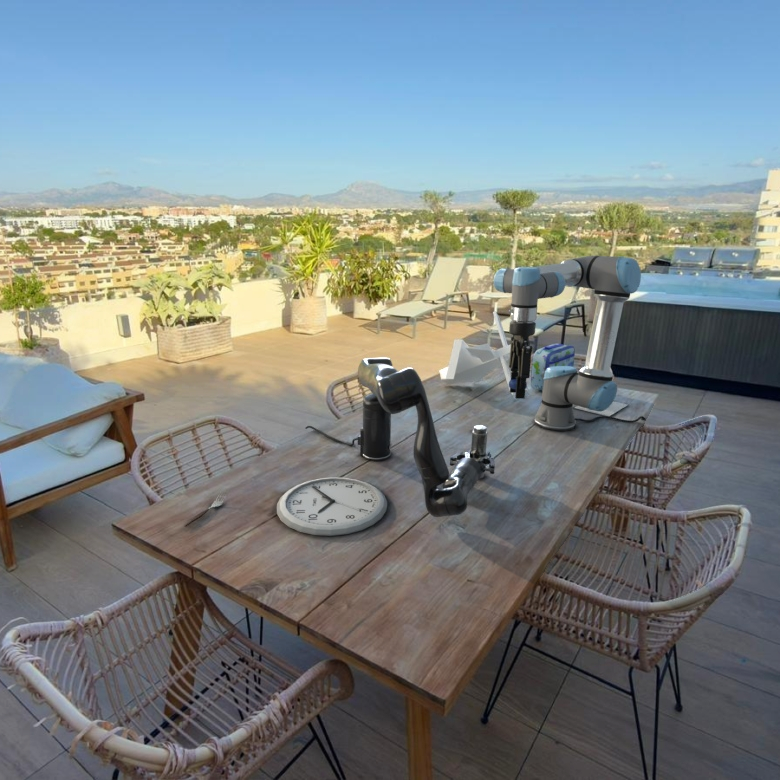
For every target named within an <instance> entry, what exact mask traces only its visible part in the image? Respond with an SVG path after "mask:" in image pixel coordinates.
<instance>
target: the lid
mask: <svg viewBox="0 0 780 780" xmlns="http://www.w3.org/2000/svg"><path fill="white" fill-rule="evenodd" d="M516 382H517V379H512V380H510V381H509V387H510V388H512V389H516ZM509 387H508V388H509ZM527 387H528V382H527V381H526V388H527Z"/></svg>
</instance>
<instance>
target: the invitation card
mask: <svg viewBox="0 0 780 780" xmlns="http://www.w3.org/2000/svg"><path fill="white" fill-rule="evenodd" d="M628 406H629V404H627V403H623V402H618V401H615V400H614V401H613V402H612V404H611V405H610V406H609V407H608V408H607V409H606V410H604V411H595V410H589V409H587V408H584V407H581V406H577V405H575V406H574V407H573V409H575V410H581V411H584V412H587V413H593V414H596V415H600V416H609V417H612V416H613V415H614V414H616V413H617V412H619V411H621V410H623V409H624V408H626V407H628Z"/></svg>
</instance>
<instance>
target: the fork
mask: <svg viewBox="0 0 780 780" xmlns="http://www.w3.org/2000/svg"><path fill="white" fill-rule="evenodd" d="M227 496H228V492H227V493H224V492H219V494H218V496H217V497H216V499H215V500H214V501H213V503H212V504H211V505H210V506H209V507H207V508H206V509H204V510H203V511H201V512H199V513H198V514H196V515H195V516H194V517H193V518H192V519H191V520H190V521H188V522H187V523H186V524H185V525H184V527H188V526H190V525H191V524H192V523H194V522H195V521H198V520H199V519H200V518H202V517H203V516H205V514H207V512H209V511H210V510H211V509H213V508H218V507H221V506H222V505H223V503H224V502H225V500H226V498H227Z"/></svg>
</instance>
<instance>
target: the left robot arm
mask: <svg viewBox="0 0 780 780" xmlns="http://www.w3.org/2000/svg"><path fill="white" fill-rule="evenodd" d="M357 377H358V380H359V383H360V385H361V386H362V387H364V388H367V389H368V390H369V391H370V392H371V393H369V394H367V395H365V396H364V397H363V398H362V427H361V428H360V429H359V432H360V433H359V435H358V436H357V437H354V438H353V439H352V441H351V443H346V442H343V441H341V440H339V439H337V438H335V437H333V436H331V435H328V434H327V433H325V432H323V431H322V430H319V429H317V428H316V427H314V426H311V425H307V426H305V427H304V429H305V430H308V429H312V430H313V431H315V432H318V433H320V434H321V435H323V436H324V437H327V438H328V439H330V440H332V441H334V442H336V443H339V444H344V445H347V446H351V447H352V446H354V445H355V441H357V446H359V455H360V456H361V457H363V458H365V459H367V460H370V461H384V460H387V459H388V458H390V457H391V456H392V455H391V454H392V453H391V449H392V444H391V439H392V438H391V433H392V432H391V431H392V415H396V414H399V413H402V412H404V411H406V410H409V409H411V408H413V407H415V409H416V413H417V425H416V426H417V427H416V433H415V437H414V443H413V459H414V462H415V466H416V467H417V470H418V473H419V475H420V477H421V480H422V485H423V493H424V504H425V509H426V511H427V512H428V514H429V515H430V516H432V517H434V518H444V517H452V516H459V515H462V514H464V512H466V510H467V509H468V495H469V493H470V492H471V490H472V489H473V488H474V487H475V486H476V484H478V481H479V480H480V479H479V478H480V476H481V474H482V473H484V474H485V473H486V472H489V473H490V474H491V475H494V474H495V468H496V463H495V458H494V457H492V453H491V451H486V455H485V456H484V457H480V458H478V459H473V458H471V449H468V450H467V451H466V452H463V451H458V452H457V453H455V454H453V455H452V456H450V457H449V466H450V467H453V468H451V470H449V467H448V465H447V462H446V460H445V457H444V454H443V451H442V449H441V446H440V443H439V440H438V437H437V432H436V427H435V423H434V419H433V415H432V411H431V408H430V404H429V400H428V396H427V393H426V389H425V386H424V384H423V381H422V379H421V377H420V375H419V373H418V372H417V371H416V370H415V369H414V368H413V367H410V366H409V367H405V368H402V369H401V370H397V368H395V367H394V366H393V362H392V360H391V358H389V357H367V358H363V359H361V360H360V362H359V364H358V366H357ZM440 485H442V488H438V487H439V486H440Z"/></svg>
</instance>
